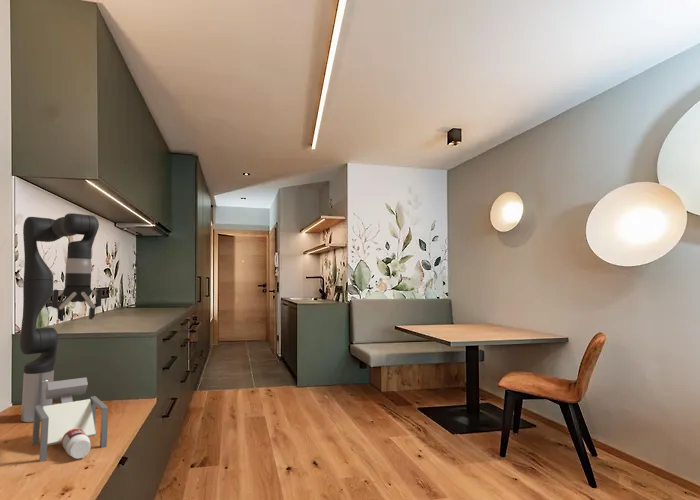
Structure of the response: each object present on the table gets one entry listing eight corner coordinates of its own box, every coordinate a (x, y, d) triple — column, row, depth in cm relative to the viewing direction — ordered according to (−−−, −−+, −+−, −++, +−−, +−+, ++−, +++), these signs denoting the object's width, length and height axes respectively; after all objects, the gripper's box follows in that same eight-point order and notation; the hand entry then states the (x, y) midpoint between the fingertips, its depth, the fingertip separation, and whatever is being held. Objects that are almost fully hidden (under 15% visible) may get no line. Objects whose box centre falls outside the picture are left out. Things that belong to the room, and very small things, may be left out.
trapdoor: (41, 392, 141) (43, 382, 138) (87, 385, 149) (90, 376, 147) (45, 445, 130) (48, 436, 127) (95, 435, 138) (98, 426, 136)
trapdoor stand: (32, 444, 136) (34, 405, 137) (93, 431, 148) (95, 396, 149) (40, 461, 124) (42, 418, 125) (106, 446, 135) (108, 407, 136)
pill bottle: (86, 427, 136) (95, 437, 128) (81, 448, 135) (89, 459, 127) (64, 427, 132) (72, 438, 124) (58, 449, 131) (65, 461, 123)
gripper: (99, 272, 156) (97, 318, 155) (51, 271, 146) (49, 320, 145) (104, 272, 150) (102, 319, 149) (55, 271, 140) (52, 322, 139)
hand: (76, 320), depth 147 cm, fingers open, 8 cm apart
